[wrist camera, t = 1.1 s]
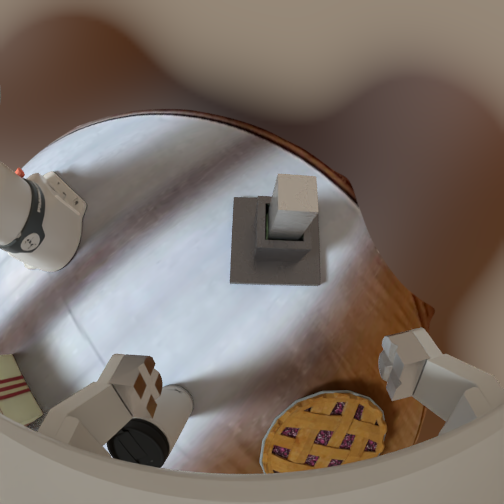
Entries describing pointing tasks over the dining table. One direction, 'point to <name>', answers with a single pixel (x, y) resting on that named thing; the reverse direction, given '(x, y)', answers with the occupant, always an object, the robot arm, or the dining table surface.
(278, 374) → the dining table surface
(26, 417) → the gift box
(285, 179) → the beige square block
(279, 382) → the dining table surface
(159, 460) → the travel mug
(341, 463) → the pie
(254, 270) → the grey square socket stand
